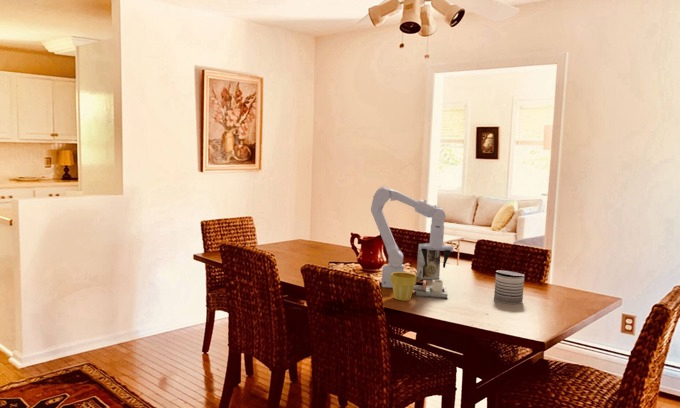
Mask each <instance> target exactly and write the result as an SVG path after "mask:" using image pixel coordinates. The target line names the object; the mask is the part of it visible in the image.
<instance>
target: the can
mask: <svg viewBox="0 0 680 408" xmlns="http://www.w3.org/2000/svg"><path fill="white" fill-rule="evenodd" d="M495 272H496V273H495V282H494V294H493V300H494V301H496V302H498V303H502V304H507V305H519V304H520V305H521V304H522V303H523V301H524V299H523V298H524V287H525V285H524V284H525V274H523V273H520V272H516V271H509V270H500V269H499V270H496V271H495Z"/></svg>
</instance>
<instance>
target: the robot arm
mask: <svg viewBox="0 0 680 408" xmlns="http://www.w3.org/2000/svg"><path fill="white" fill-rule="evenodd" d="M388 201H391V202H392V201H394V202H395V201H398V202H401V203H403V204H405V205H407V206H409V207H412V208H414V212H416V213H418V214H420V215H422V216H424V217H426V218H428V219H429V218H431V223H430V232H429V233H430V234H429V243H430V245H422V244H420V243H418V244H419V249H420V250H422V254H423V256H424V260H425V266H426V267H427V250H440V251H442V252H443V263H442V268H446V264H447V261H448V259H449V257H450V255H451V252H452V253H453V252H454V246H453V245H452V246H451V245H444V234H445V219H446V213H445V211H444V209H443V208H441V207H440V206H438V205H436V204H434V205H433V204H431V203H429V202H428V201H427V200H426V199H419V200H416V199H414V198H412V197H411V196H408V195H406V194H404V193H402V192H400V191H398V190H395V189H393V188H388V187H387V186H380V187H378V188H377V189H376V191H375V192H374V195H373V198H372V202H371V207H370V211H371V214H372V217H373V220H374V222H375V224H376V226H377V229H378V232H379V234H380V236H381V239H382V241H383V243H384V247H385V250H386V253H387V255H388V263H387V264H386V265H382V272H381V279H380V281H381V287H382V288H389V289H391V288H392V289H393V286H392V283H391V274H392V273H394V272H405V270H404V269H405V265H404V264H403V263H404V254H403V252H402V250H400V248H399V246H398V244H397V243H396V241H395V239H394V236H393V233H392V231H391V228H390V226H389V223H388V222H387V219H386V216H385V213H384V211H383V209H384V207H385V204H387V202H388ZM432 248H433V249H432Z"/></svg>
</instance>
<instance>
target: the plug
mask: <svg viewBox="0 0 680 408" xmlns="http://www.w3.org/2000/svg"><path fill="white" fill-rule="evenodd" d="M431 284H432V285H431V287H432V292H442V287H443V285H444V283H443V280H441V279H432V282H431Z"/></svg>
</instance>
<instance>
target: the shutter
mask: <svg viewBox="0 0 680 408" xmlns="http://www.w3.org/2000/svg"><path fill="white" fill-rule="evenodd" d="M426 286H427V279H422V285H421V284H420V285H418V284H415V285H414V288H413V291H416V290H418V291H426Z"/></svg>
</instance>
